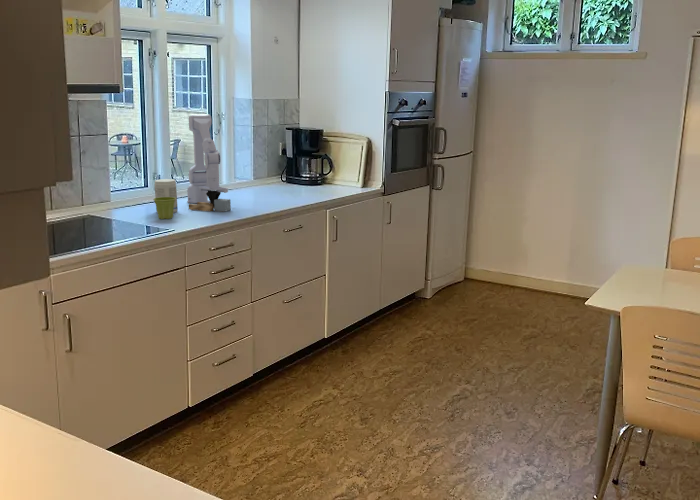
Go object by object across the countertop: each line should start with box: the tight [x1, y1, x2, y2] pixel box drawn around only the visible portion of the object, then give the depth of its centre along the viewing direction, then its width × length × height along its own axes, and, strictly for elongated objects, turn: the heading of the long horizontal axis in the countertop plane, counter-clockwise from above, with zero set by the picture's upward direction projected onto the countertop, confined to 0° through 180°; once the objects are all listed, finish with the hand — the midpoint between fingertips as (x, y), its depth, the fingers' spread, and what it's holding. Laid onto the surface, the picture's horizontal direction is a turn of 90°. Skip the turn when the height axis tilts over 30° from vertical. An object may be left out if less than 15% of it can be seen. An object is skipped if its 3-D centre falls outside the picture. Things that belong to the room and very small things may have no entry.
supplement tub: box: [154, 178, 178, 214], centre depth 316 cm, size 10×10×15 cm
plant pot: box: [153, 197, 176, 220], centre depth 302 cm, size 9×9×9 cm
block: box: [213, 198, 232, 212], centre depth 322 cm, size 6×4×5 cm
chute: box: [188, 202, 214, 212], centre depth 326 cm, size 13×8×4 cm, turn 68°
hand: (213, 206), depth 324 cm, fingers closed
